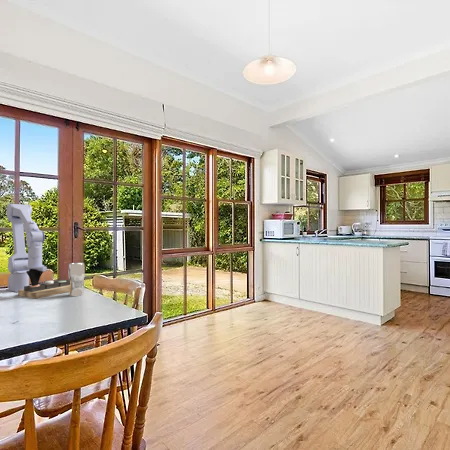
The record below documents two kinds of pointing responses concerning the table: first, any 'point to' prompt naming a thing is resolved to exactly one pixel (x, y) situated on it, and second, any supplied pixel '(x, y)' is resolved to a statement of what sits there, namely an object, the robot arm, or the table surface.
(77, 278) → the beer glass
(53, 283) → the button grey
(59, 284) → the button panel
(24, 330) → the table surface
